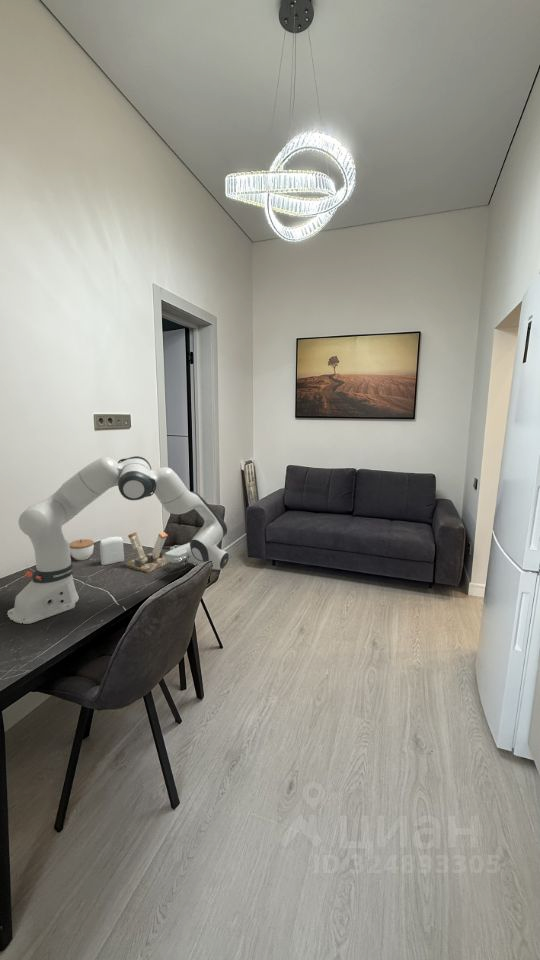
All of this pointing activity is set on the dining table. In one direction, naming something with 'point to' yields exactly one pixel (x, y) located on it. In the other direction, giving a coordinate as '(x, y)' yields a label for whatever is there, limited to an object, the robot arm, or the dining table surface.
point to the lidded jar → (81, 549)
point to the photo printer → (111, 550)
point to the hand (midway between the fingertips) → (172, 547)
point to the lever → (159, 545)
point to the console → (144, 557)
